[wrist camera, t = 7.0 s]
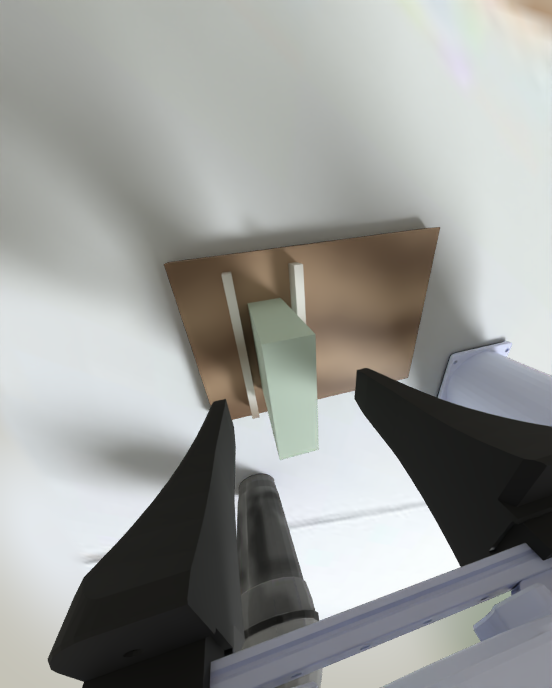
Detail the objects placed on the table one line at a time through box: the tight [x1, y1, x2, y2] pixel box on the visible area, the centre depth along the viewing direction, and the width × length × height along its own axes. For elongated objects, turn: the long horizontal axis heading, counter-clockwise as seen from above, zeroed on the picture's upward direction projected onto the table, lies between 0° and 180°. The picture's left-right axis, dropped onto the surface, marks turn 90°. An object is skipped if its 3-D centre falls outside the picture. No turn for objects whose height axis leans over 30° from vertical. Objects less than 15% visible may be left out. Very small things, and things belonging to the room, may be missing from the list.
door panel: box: [247, 298, 319, 460], centre depth 14 cm, size 8×2×7 cm, turn 6°
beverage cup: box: [237, 474, 322, 688], centre depth 18 cm, size 7×7×20 cm
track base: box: [164, 227, 440, 420], centre depth 18 cm, size 14×20×3 cm
